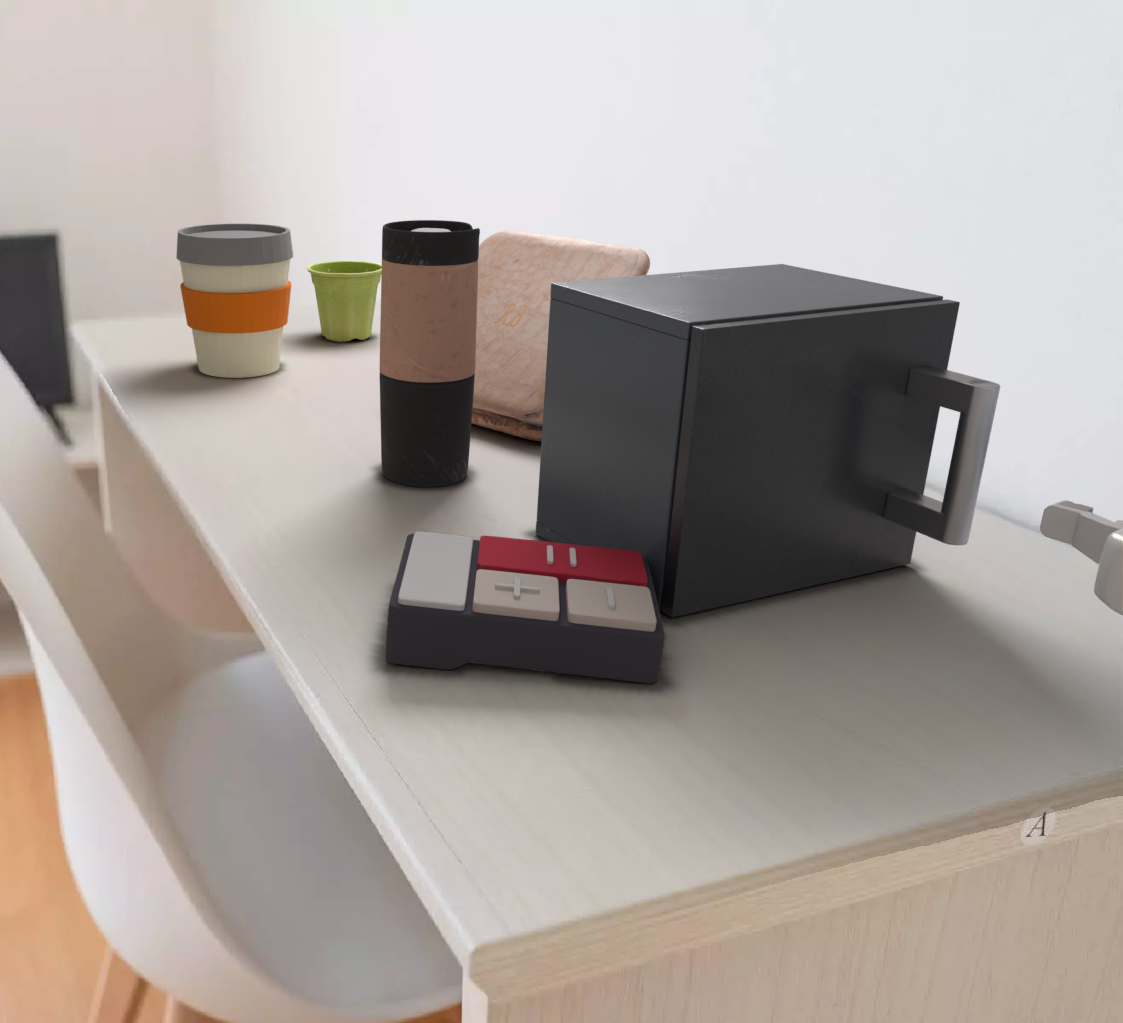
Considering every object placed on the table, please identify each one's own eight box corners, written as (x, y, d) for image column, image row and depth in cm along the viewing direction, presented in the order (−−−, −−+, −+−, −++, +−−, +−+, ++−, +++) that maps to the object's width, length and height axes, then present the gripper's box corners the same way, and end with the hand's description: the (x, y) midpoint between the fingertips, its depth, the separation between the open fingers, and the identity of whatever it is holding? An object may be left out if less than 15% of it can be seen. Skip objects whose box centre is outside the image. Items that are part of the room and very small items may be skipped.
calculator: (668, 625, 61) (388, 594, 63) (656, 695, 63) (383, 663, 65) (649, 545, 71) (408, 520, 73) (639, 608, 73) (403, 582, 75)
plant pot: (368, 347, 138) (368, 274, 135) (296, 341, 141) (295, 270, 138) (394, 332, 146) (395, 263, 143) (325, 326, 149) (325, 258, 146)
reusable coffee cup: (215, 350, 136) (209, 220, 131) (313, 360, 132) (311, 226, 127) (161, 375, 125) (152, 234, 120) (265, 386, 121) (261, 241, 116)
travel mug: (360, 476, 95) (361, 226, 87) (410, 452, 101) (415, 217, 93) (440, 494, 91) (448, 234, 83) (487, 469, 96) (498, 224, 89)
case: (381, 404, 115) (383, 240, 109) (522, 370, 128) (531, 222, 122) (539, 453, 101) (550, 267, 95) (680, 409, 113) (697, 243, 108)
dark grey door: (980, 595, 73) (1040, 317, 67) (733, 656, 66) (774, 349, 59) (898, 558, 79) (946, 299, 72) (661, 611, 71) (691, 325, 65)
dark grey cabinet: (895, 559, 79) (943, 295, 72) (658, 611, 71) (689, 322, 65) (751, 494, 91) (782, 263, 84) (535, 533, 83) (550, 282, 77)
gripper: (1497, 478, 58) (1189, 414, 69) (1345, 572, 47) (1007, 479, 58) (1454, 592, 60) (1162, 513, 71) (1300, 707, 49) (983, 593, 60)
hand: (1091, 498), depth 64 cm, fingers open, 8 cm apart
